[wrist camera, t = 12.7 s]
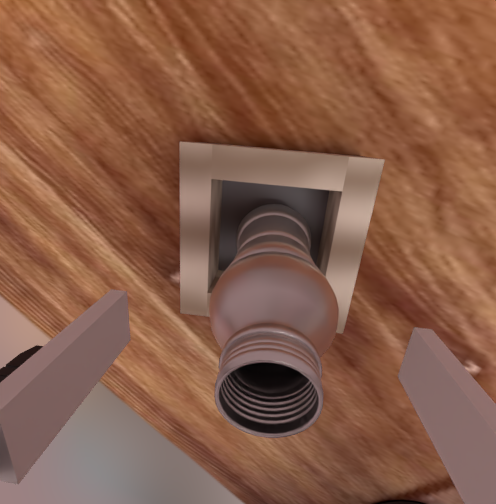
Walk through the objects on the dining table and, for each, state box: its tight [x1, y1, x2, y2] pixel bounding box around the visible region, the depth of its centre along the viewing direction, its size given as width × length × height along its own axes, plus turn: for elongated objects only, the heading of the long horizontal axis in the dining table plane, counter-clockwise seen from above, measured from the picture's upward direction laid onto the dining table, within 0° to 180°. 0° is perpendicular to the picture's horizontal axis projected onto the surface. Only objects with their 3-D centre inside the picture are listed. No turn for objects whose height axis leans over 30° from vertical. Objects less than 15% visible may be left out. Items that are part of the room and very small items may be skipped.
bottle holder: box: [180, 142, 385, 334], centre depth 26 cm, size 15×15×6 cm
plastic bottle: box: [209, 204, 339, 438], centre depth 19 cm, size 6×7×20 cm
